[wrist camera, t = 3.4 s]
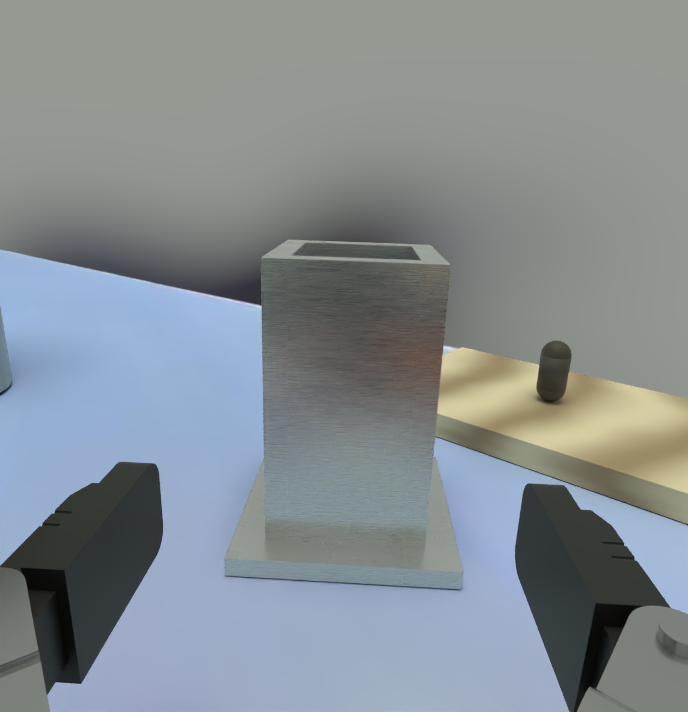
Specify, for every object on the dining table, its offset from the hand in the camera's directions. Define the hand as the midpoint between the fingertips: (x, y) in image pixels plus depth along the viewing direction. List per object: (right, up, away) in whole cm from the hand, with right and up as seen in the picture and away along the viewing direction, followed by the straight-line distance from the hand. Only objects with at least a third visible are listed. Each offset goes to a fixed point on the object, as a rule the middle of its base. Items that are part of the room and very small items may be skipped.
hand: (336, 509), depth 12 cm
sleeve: (0, -4, +13) cm, 14 cm away
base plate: (+14, -1, +24) cm, 27 cm away
